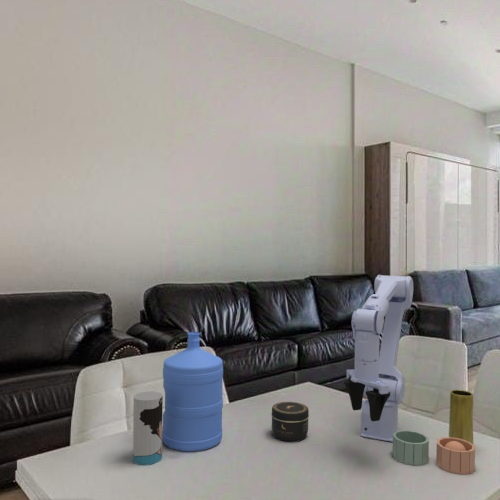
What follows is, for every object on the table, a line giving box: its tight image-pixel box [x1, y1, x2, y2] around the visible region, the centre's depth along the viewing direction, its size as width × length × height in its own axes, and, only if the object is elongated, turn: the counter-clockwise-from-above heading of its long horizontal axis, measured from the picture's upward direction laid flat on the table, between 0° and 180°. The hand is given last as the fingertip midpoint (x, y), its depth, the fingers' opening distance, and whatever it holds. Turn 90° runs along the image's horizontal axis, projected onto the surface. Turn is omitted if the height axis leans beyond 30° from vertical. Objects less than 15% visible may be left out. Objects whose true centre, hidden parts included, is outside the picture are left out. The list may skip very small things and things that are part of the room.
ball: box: [445, 441, 466, 451], centre depth 112 cm, size 5×5×5 cm
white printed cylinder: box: [132, 390, 164, 466], centre depth 114 cm, size 7×7×15 cm
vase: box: [448, 389, 474, 445], centre depth 122 cm, size 6×6×14 cm
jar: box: [271, 401, 310, 443], centre depth 129 cm, size 10×10×8 cm
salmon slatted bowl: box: [435, 436, 476, 475], centre depth 112 cm, size 8×8×5 cm
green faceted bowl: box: [392, 429, 430, 466], centre depth 116 cm, size 8×8×5 cm
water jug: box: [162, 331, 224, 452], centre depth 125 cm, size 16×16×28 cm
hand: (365, 414), depth 116 cm, fingers open, 7 cm apart
